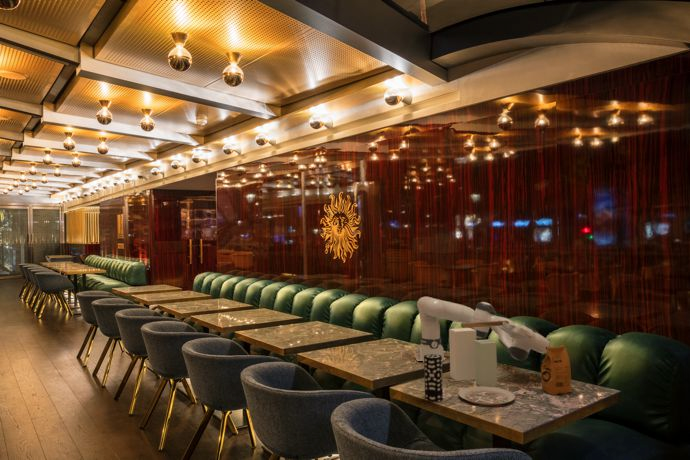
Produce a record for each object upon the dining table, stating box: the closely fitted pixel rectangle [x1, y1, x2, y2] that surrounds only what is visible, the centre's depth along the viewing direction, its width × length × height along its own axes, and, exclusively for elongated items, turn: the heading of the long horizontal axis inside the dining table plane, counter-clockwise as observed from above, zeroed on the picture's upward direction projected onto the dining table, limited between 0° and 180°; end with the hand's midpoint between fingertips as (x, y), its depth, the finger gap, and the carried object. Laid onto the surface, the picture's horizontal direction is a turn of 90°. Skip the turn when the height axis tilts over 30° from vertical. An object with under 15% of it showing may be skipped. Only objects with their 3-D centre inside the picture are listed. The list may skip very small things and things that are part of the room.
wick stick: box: [460, 320, 509, 328], centre depth 254 cm, size 3×25×2 cm, turn 101°
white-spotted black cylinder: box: [423, 354, 444, 403], centre depth 233 cm, size 8×8×20 cm
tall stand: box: [448, 327, 478, 382], centre depth 266 cm, size 8×12×26 cm, turn 101°
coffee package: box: [540, 344, 572, 396], centre depth 240 cm, size 10×12×22 cm
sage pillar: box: [474, 339, 498, 387], centre depth 254 cm, size 8×8×22 cm
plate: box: [458, 385, 516, 406], centre depth 232 cm, size 26×26×2 cm
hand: (500, 322), depth 256 cm, fingers closed on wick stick, 3 cm apart
